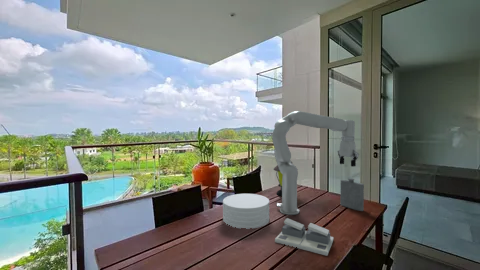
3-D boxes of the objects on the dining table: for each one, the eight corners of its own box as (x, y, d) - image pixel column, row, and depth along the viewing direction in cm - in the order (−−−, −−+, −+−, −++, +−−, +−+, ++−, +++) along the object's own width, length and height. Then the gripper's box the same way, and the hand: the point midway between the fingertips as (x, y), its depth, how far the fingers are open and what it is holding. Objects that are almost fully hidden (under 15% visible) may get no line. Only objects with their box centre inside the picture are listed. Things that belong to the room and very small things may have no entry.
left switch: (283, 223, 117) (284, 220, 117) (286, 220, 121) (287, 217, 120) (301, 230, 112) (301, 228, 112) (303, 227, 116) (304, 224, 116)
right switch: (307, 228, 111) (308, 225, 111) (309, 224, 114) (310, 222, 114) (326, 236, 106) (327, 234, 106) (328, 232, 110) (329, 230, 110)
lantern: (291, 190, 202) (291, 155, 201) (305, 196, 184) (305, 158, 183) (266, 193, 193) (266, 157, 192) (278, 199, 175) (278, 160, 174)
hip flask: (364, 210, 152) (364, 180, 151) (361, 211, 150) (361, 181, 149) (342, 203, 165) (342, 176, 165) (338, 205, 163) (338, 176, 162)
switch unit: (274, 242, 111) (274, 232, 111) (286, 229, 125) (286, 221, 125) (327, 255, 99) (327, 245, 99) (333, 240, 113) (333, 231, 113)
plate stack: (213, 223, 134) (213, 203, 134) (236, 208, 159) (236, 191, 158) (258, 233, 121) (258, 211, 121) (275, 215, 146) (275, 197, 145)
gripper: (333, 138, 157) (333, 163, 158) (353, 139, 141) (353, 167, 142) (342, 138, 160) (342, 162, 160) (363, 139, 143) (362, 167, 144)
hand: (347, 165), depth 151 cm, fingers open, 9 cm apart
